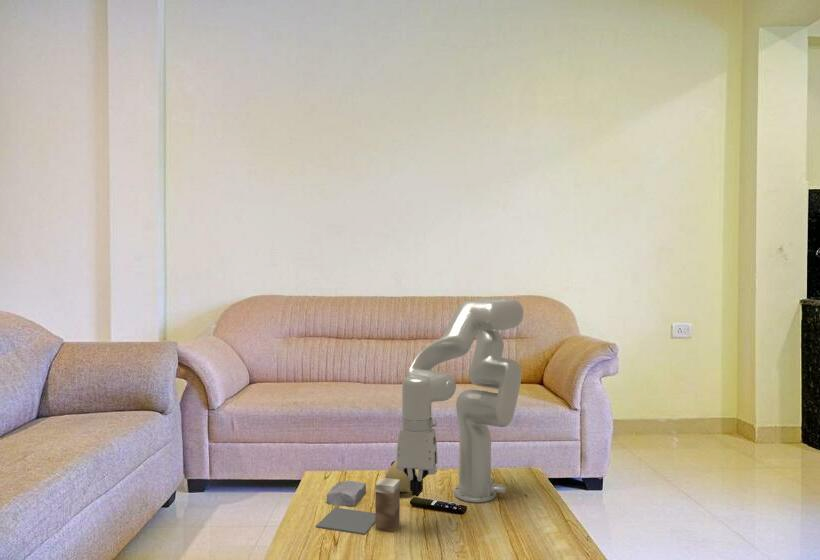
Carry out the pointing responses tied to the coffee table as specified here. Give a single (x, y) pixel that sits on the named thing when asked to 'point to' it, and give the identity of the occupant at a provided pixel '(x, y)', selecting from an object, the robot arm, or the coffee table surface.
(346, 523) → the rubber mat
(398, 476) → the tan rounded figure
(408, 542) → the coffee table surface
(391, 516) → the walnut block
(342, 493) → the stone block
